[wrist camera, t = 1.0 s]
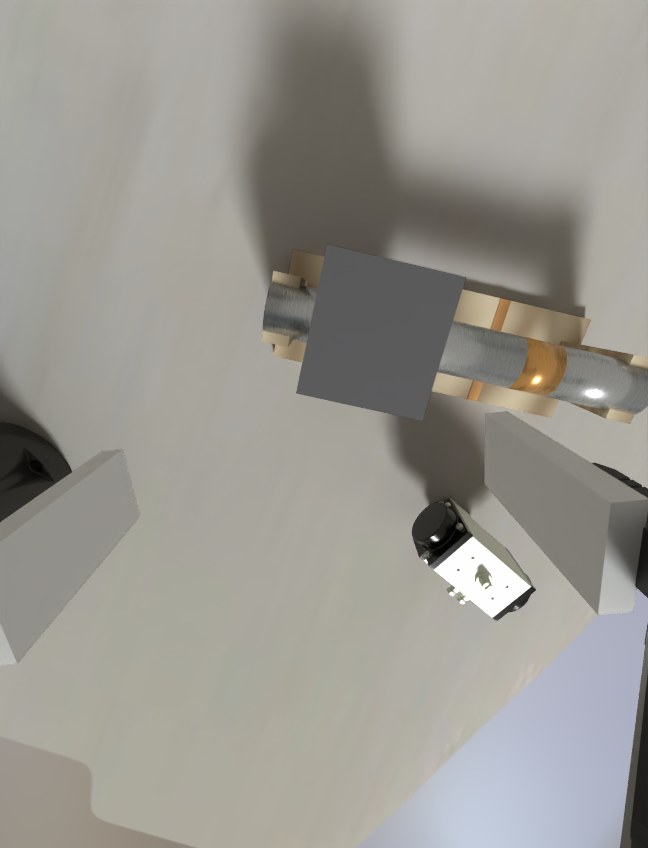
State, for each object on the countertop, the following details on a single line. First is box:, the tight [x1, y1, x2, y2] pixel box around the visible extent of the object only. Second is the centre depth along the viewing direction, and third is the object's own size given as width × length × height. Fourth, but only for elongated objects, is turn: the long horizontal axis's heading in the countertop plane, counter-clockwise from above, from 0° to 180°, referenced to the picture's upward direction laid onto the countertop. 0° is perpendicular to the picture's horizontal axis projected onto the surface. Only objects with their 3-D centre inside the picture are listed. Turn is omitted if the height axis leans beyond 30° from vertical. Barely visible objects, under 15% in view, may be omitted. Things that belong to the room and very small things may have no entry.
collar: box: [296, 244, 466, 421], centre depth 30 cm, size 8×9×12 cm
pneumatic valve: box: [412, 498, 536, 621], centre depth 41 cm, size 6×12×12 cm, turn 49°
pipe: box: [263, 282, 648, 415], centre depth 31 cm, size 29×4×4 cm, turn 78°
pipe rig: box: [261, 249, 648, 424], centre depth 36 cm, size 29×10×11 cm, turn 78°
